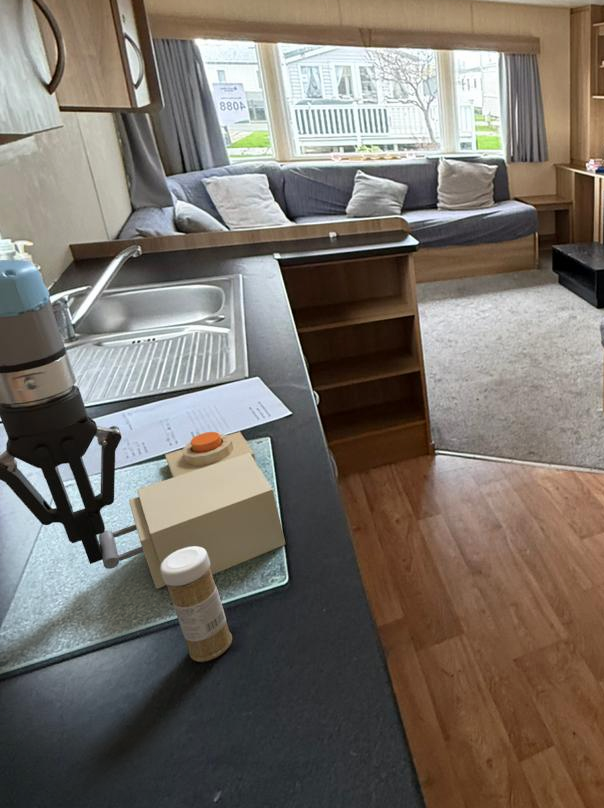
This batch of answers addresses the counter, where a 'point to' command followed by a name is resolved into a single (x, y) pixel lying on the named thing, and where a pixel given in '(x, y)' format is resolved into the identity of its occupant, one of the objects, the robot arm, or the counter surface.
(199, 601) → the sprinkles bottle
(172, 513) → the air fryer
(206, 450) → the button
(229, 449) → the panel
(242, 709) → the counter surface
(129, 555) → the pull-out drawer
